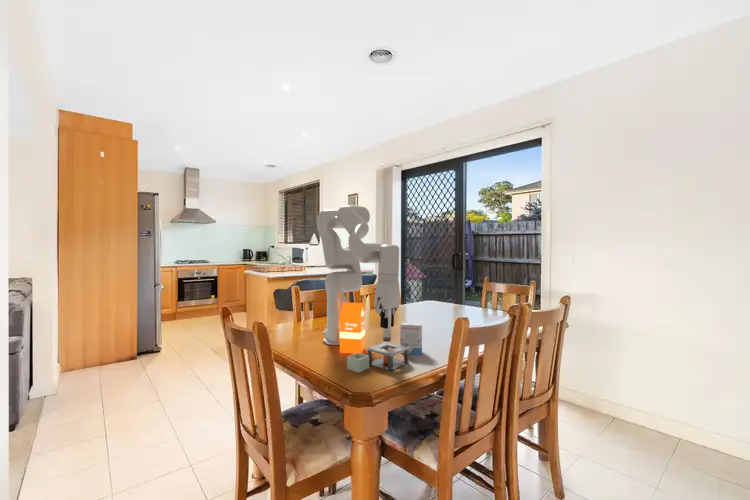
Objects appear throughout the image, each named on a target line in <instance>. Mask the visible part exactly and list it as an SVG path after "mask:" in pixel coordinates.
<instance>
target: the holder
mask: <svg viewBox="0 0 750 500" xmlns="http://www.w3.org/2000/svg"><path fill="white" fill-rule="evenodd" d="M346 366H347V367H346V369H347V370H349V371H352V372H355V373H359V374H360V373H361V372H364V371H366V370H369V369H370V365H369V356H368V355H367V354H364V353H355V354H353V353H352V354H350V355H348V356H346Z"/></svg>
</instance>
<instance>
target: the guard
mask: <svg viewBox="0 0 750 500" xmlns="http://www.w3.org/2000/svg"><path fill="white" fill-rule="evenodd" d="M366 351H367V352H366V353H367V354H366V355H368V356H369V366H371V367H375V368H379V369H381V370H385V371H389V372H392V371H395V370H397V369H399V368H401V367H403V366H406V365H408V364H409V361H410V359H409V356H410V354H409V347H406V346H401V345H400V344H396V343H392V342H390V341H389V342H386V341H383V342H382V343H377V344H375V345H372V346H370V347H367V348H366ZM401 352H404V353H403V360H401V359H398V358H394V356H396V355H398V354H402V353H401ZM373 353H376V354H380V355H387V356H388V364H385V363H383V356H382V357H379V358H377V359H375V360H373Z"/></svg>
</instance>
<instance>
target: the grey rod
mask: <svg viewBox="0 0 750 500" xmlns="http://www.w3.org/2000/svg"><path fill="white" fill-rule="evenodd" d="M383 312H385V311H383ZM387 318H388V328H387V329H386V328H382V329H383V330H382V331H383V334H382V335H383V337H382V340H383V342H389V343H390V342H392V341H391V338H392V327H391V309H388V313H387Z"/></svg>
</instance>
